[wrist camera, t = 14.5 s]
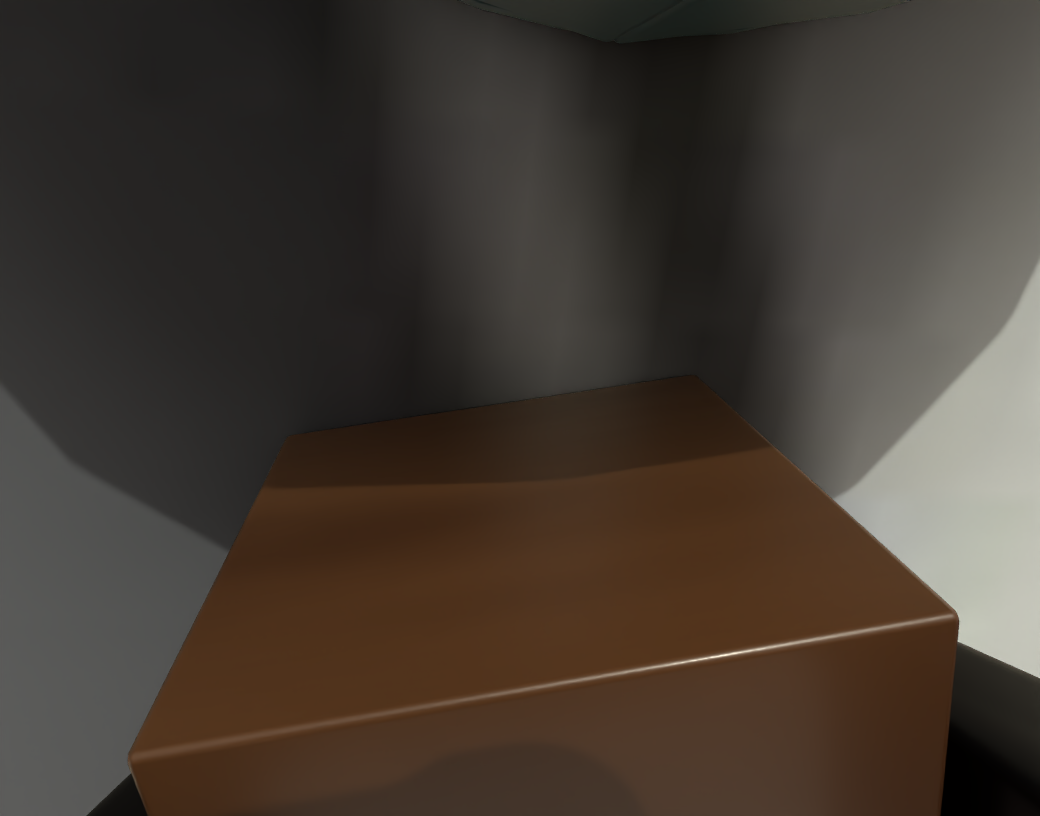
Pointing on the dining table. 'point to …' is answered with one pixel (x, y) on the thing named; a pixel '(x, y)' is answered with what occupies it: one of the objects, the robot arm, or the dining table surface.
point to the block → (554, 629)
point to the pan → (672, 15)
